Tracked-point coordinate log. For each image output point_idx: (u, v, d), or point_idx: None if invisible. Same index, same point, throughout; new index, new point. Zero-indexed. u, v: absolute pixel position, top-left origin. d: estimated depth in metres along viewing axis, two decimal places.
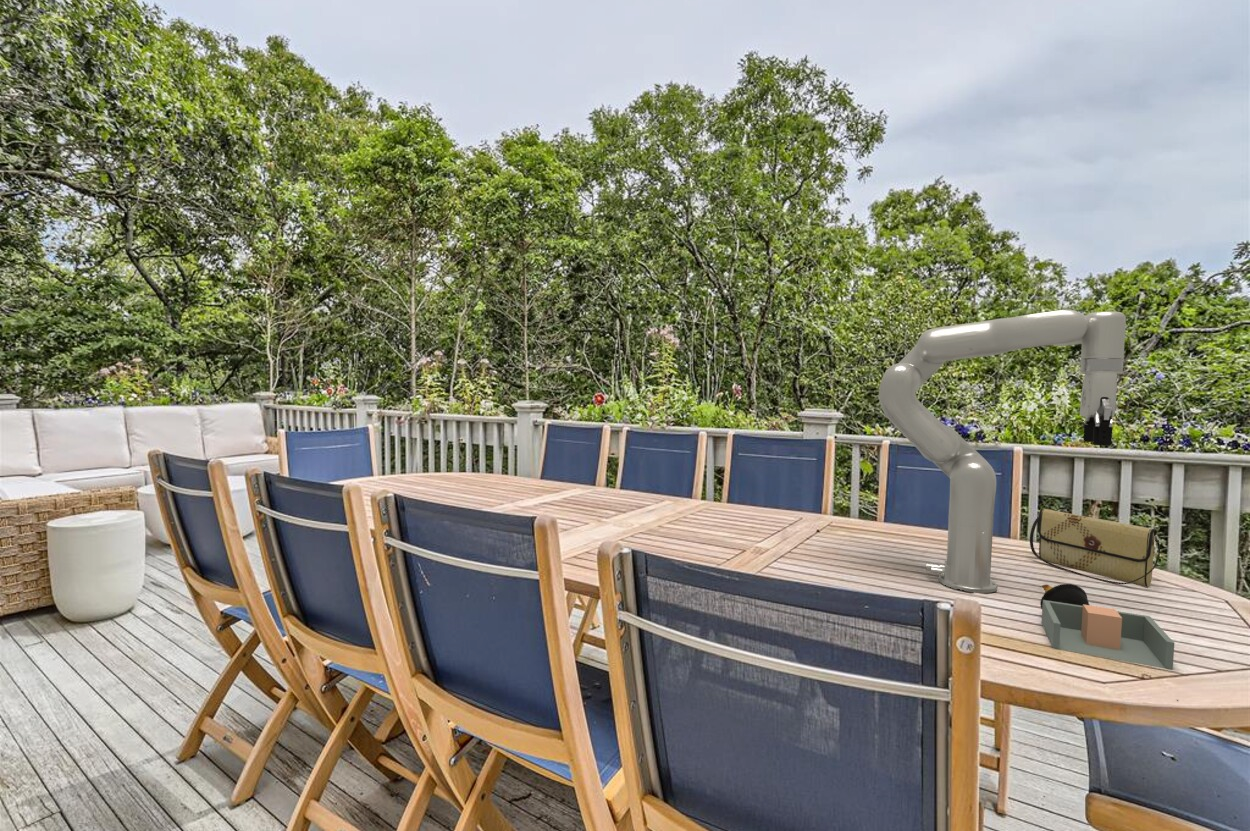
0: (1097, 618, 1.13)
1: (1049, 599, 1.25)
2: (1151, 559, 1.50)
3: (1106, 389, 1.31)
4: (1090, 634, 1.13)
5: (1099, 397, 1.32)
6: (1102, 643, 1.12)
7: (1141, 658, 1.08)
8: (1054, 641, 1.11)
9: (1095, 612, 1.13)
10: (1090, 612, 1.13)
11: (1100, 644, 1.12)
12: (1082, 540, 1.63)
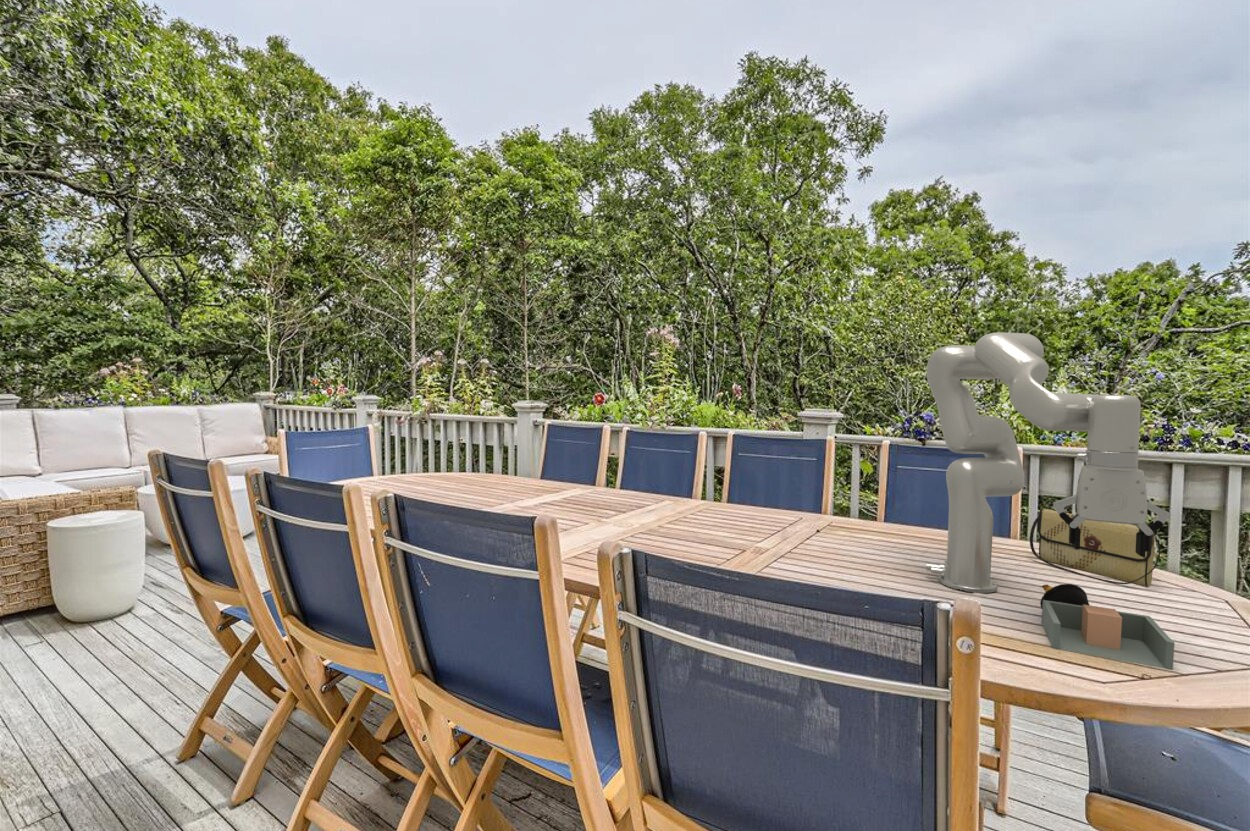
0: (1097, 618, 1.13)
1: (1049, 599, 1.25)
2: (1152, 559, 1.50)
3: None
4: (1090, 634, 1.13)
5: None
6: (1102, 643, 1.12)
7: (1141, 658, 1.08)
8: (1054, 641, 1.11)
9: (1095, 612, 1.13)
10: (1090, 612, 1.13)
11: (1100, 644, 1.12)
12: (1082, 540, 1.63)
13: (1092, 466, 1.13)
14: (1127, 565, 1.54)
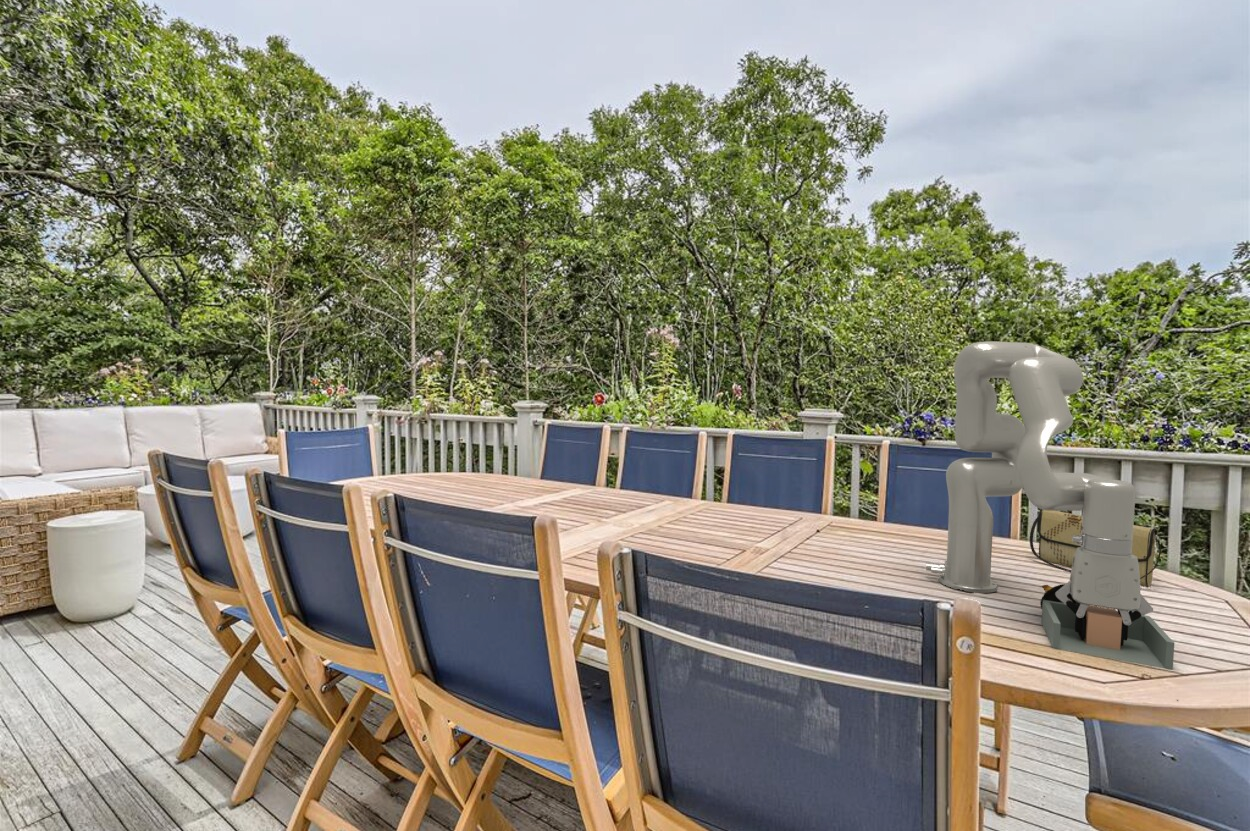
0: (1097, 618, 1.13)
1: (1049, 599, 1.25)
2: (1152, 558, 1.51)
3: None
4: (1090, 634, 1.13)
5: None
6: (1102, 643, 1.12)
7: (1141, 658, 1.08)
8: (1054, 641, 1.11)
9: (1095, 612, 1.13)
10: (1090, 612, 1.13)
11: (1100, 644, 1.12)
12: None
13: (1086, 550, 1.13)
14: None
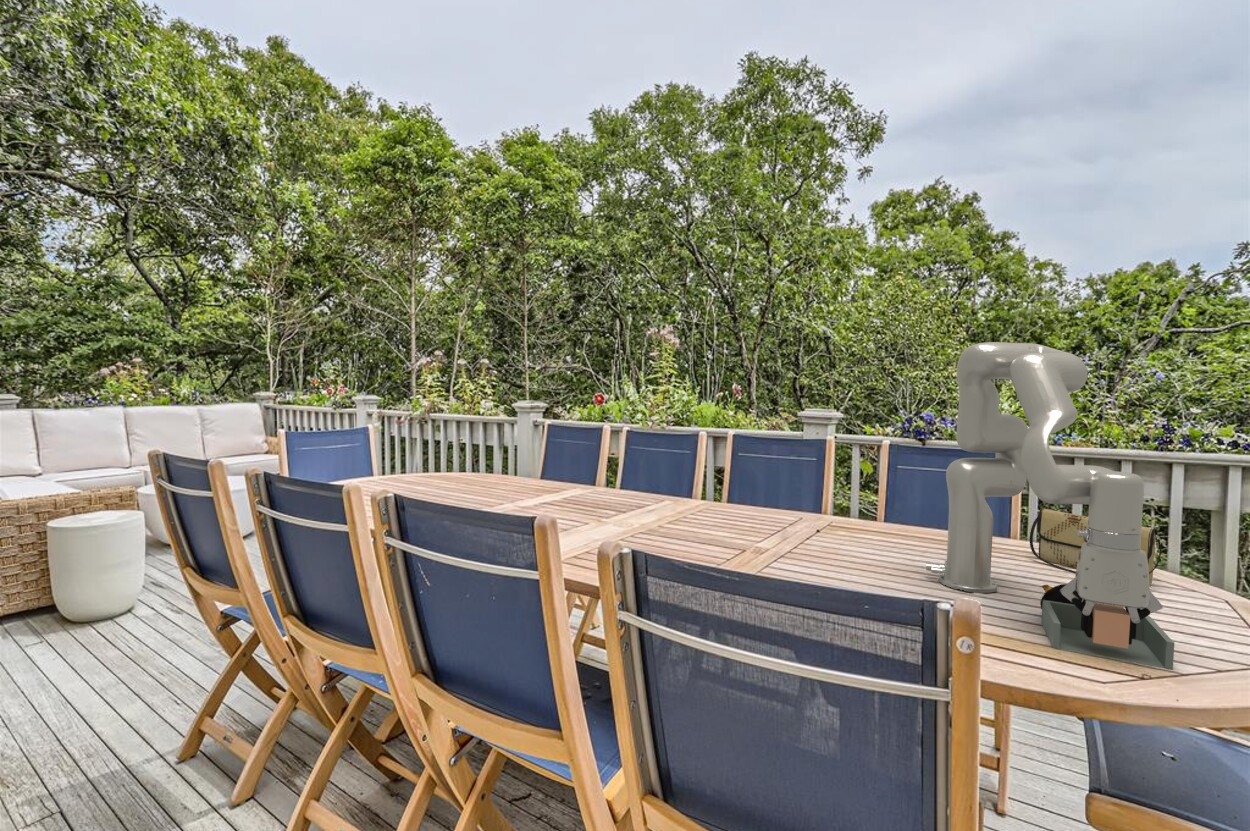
0: (1104, 616, 1.08)
1: (1049, 599, 1.25)
2: (1152, 558, 1.51)
3: None
4: (1097, 633, 1.09)
5: None
6: (1109, 642, 1.08)
7: (1141, 658, 1.08)
8: (1054, 641, 1.11)
9: (1102, 610, 1.09)
10: (1097, 609, 1.09)
11: (1107, 643, 1.08)
12: (1082, 540, 1.63)
13: (1093, 545, 1.09)
14: None
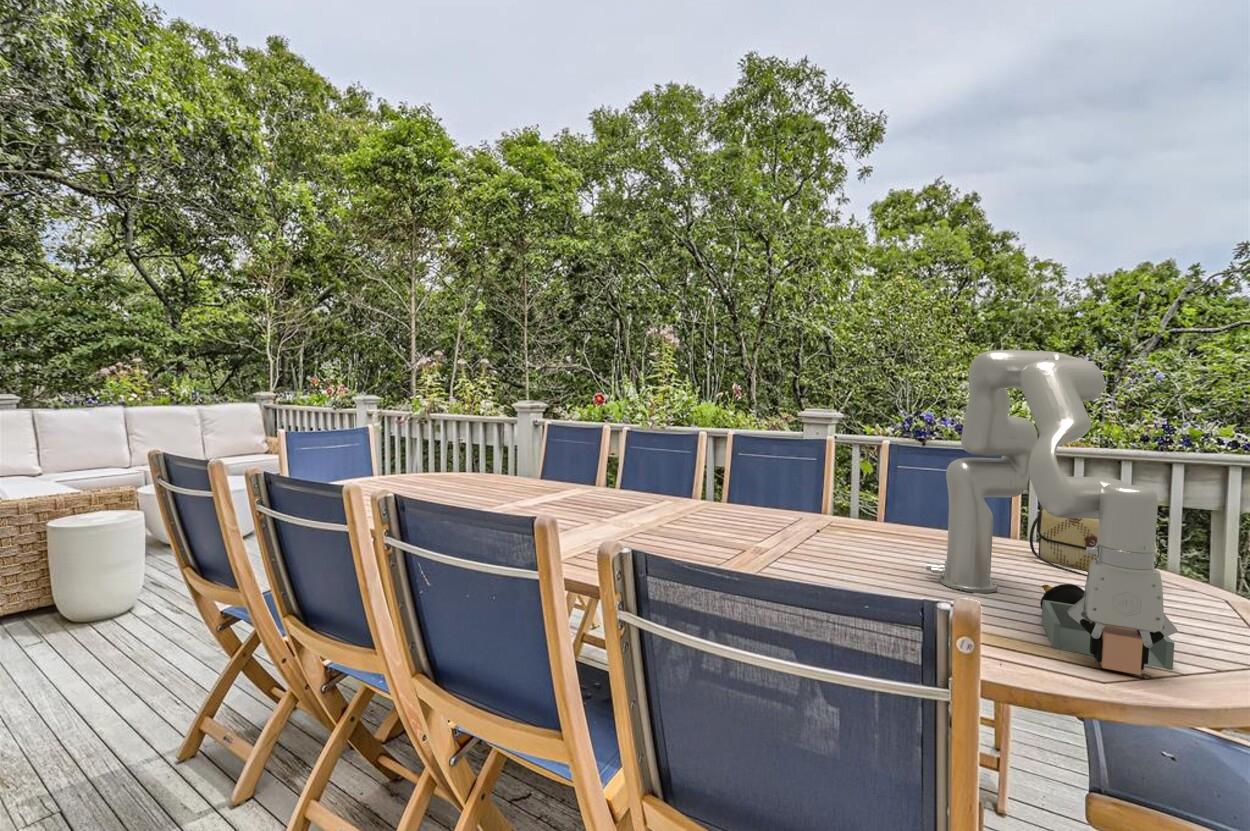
0: (1114, 640, 1.01)
1: (1049, 599, 1.25)
2: None
3: None
4: (1107, 657, 1.02)
5: None
6: (1120, 667, 1.01)
7: None
8: (1054, 641, 1.11)
9: (1112, 633, 1.02)
10: (1107, 632, 1.02)
11: (1118, 668, 1.01)
12: (1082, 540, 1.63)
13: (1103, 563, 1.02)
14: None
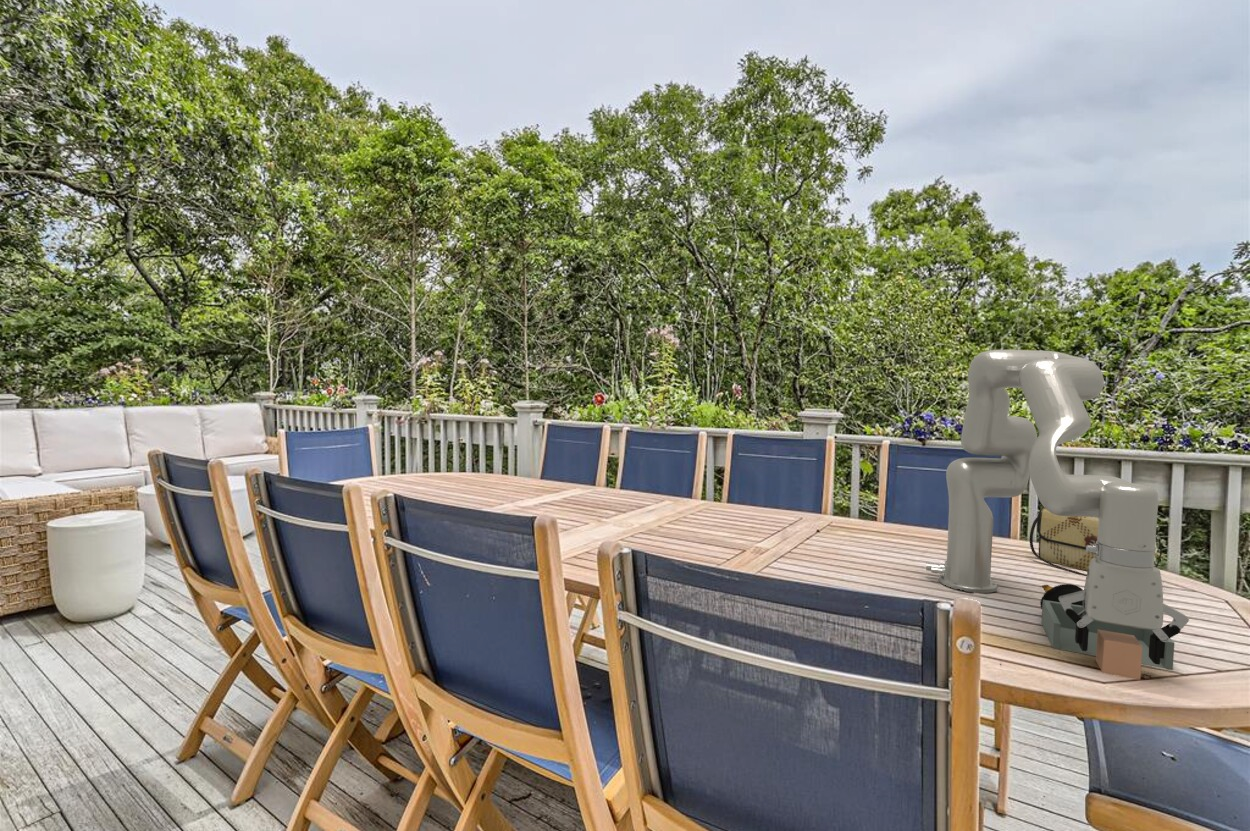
0: (1114, 646, 1.01)
1: (1049, 599, 1.25)
2: None
3: None
4: (1106, 664, 1.02)
5: None
6: (1120, 674, 1.01)
7: None
8: (1054, 641, 1.11)
9: (1112, 639, 1.02)
10: (1107, 639, 1.02)
11: None
12: (1082, 540, 1.63)
13: (1103, 561, 1.02)
14: None
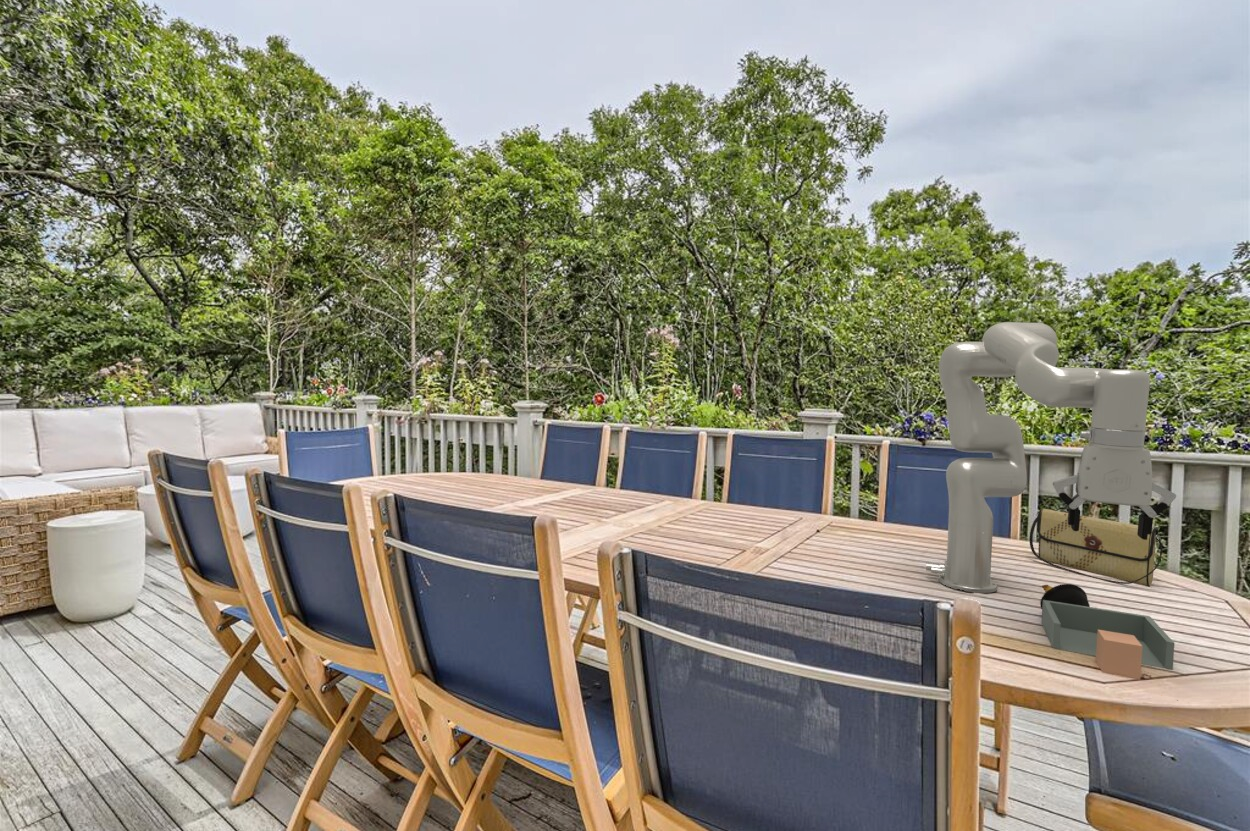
0: (1114, 646, 1.01)
1: (1049, 599, 1.25)
2: (1153, 558, 1.51)
3: None
4: (1106, 664, 1.02)
5: None
6: (1120, 674, 1.01)
7: None
8: (1054, 641, 1.11)
9: (1112, 639, 1.02)
10: (1107, 639, 1.02)
11: None
12: (1082, 540, 1.63)
13: (1095, 444, 1.07)
14: (1128, 565, 1.54)
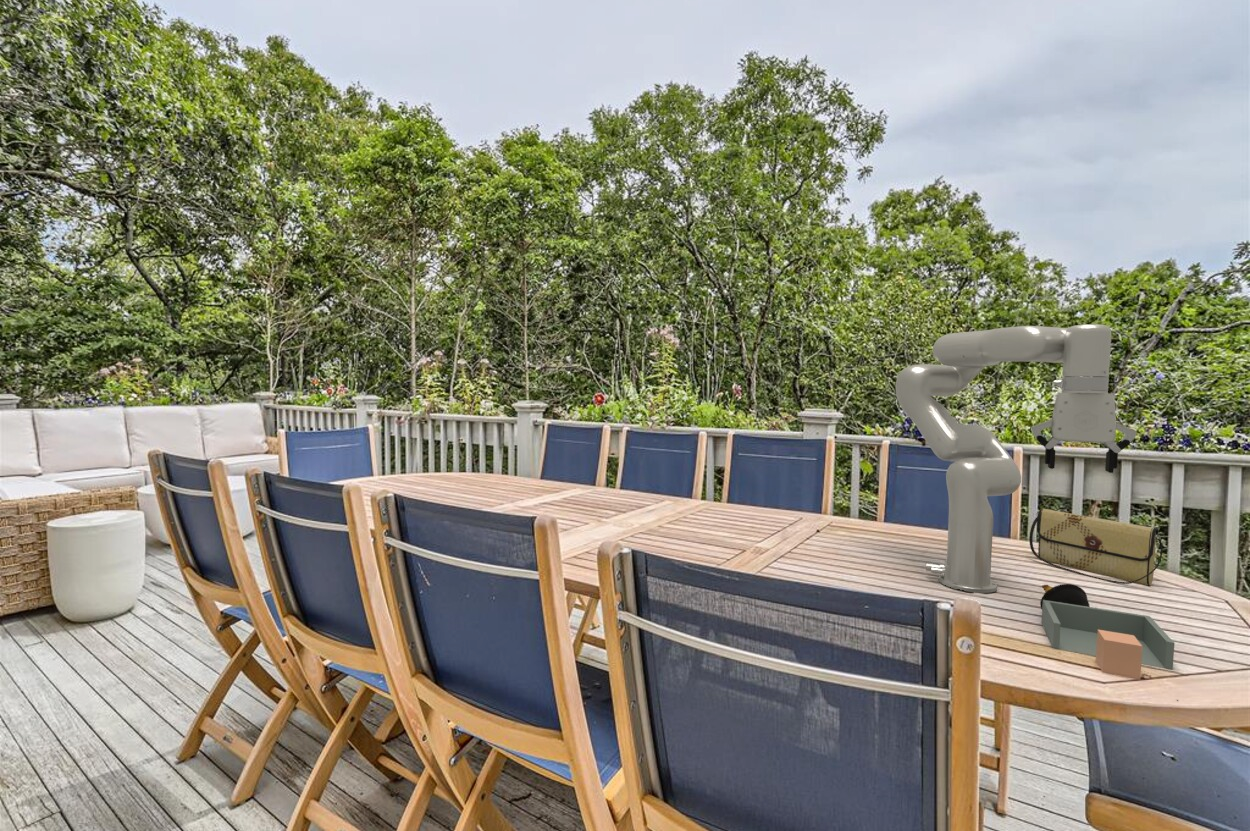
0: (1114, 646, 1.01)
1: (1049, 599, 1.25)
2: (1153, 558, 1.51)
3: None
4: (1106, 664, 1.02)
5: None
6: (1120, 674, 1.01)
7: None
8: (1054, 641, 1.11)
9: (1112, 639, 1.02)
10: (1107, 639, 1.02)
11: None
12: (1082, 540, 1.63)
13: (1066, 390, 1.22)
14: (1128, 564, 1.54)
